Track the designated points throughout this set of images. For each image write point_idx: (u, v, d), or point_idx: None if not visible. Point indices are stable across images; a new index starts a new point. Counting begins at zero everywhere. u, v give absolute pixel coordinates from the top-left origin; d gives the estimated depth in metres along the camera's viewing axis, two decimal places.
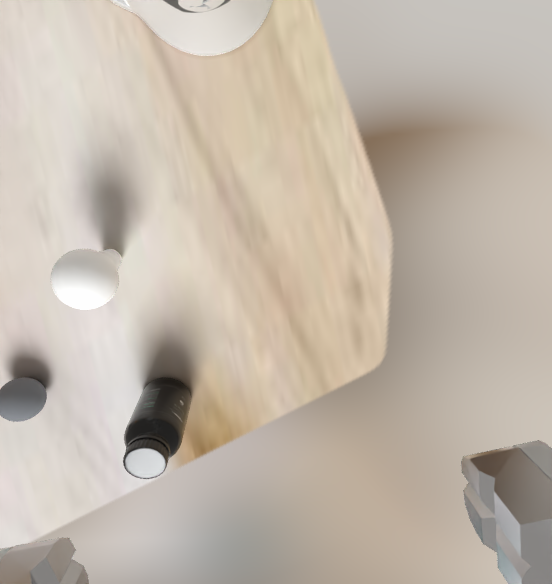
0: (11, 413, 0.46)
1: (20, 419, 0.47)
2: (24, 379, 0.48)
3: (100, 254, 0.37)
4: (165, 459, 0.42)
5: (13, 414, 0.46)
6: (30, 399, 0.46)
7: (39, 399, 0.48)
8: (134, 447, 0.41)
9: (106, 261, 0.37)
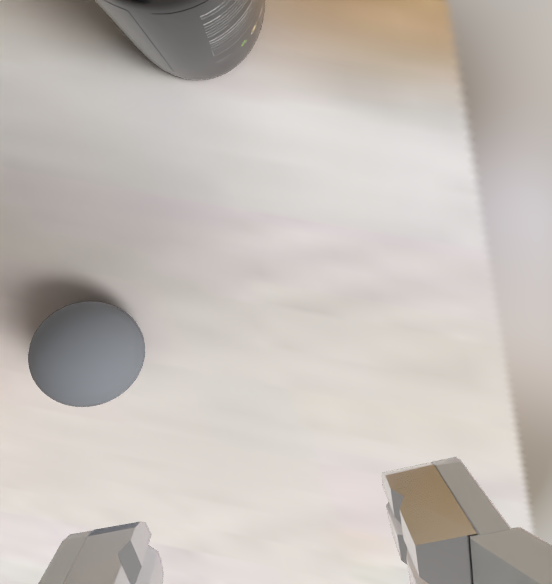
0: (66, 373, 0.17)
1: (101, 364, 0.17)
2: None
3: None
4: None
5: (70, 370, 0.17)
6: (59, 322, 0.18)
7: (82, 308, 0.18)
8: None
9: None
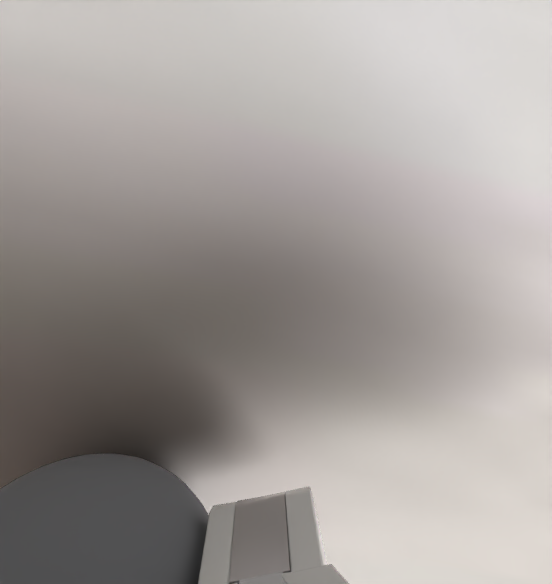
0: None
1: None
2: None
3: None
4: None
5: None
6: None
7: (31, 557, 0.05)
8: None
9: None
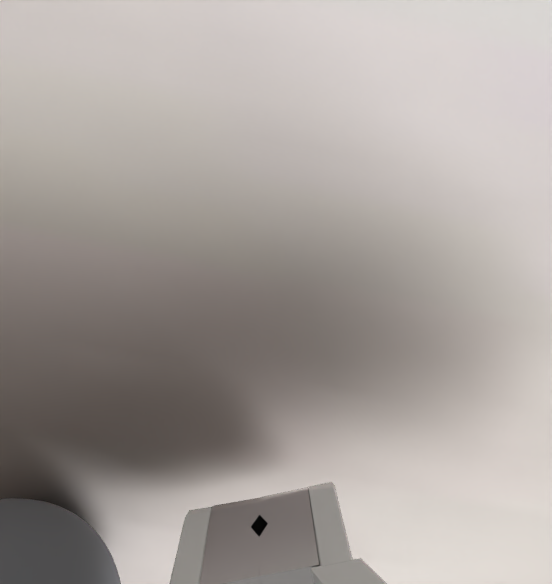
0: None
1: None
2: (35, 556, 0.07)
3: None
4: None
5: None
6: None
7: None
8: None
9: None
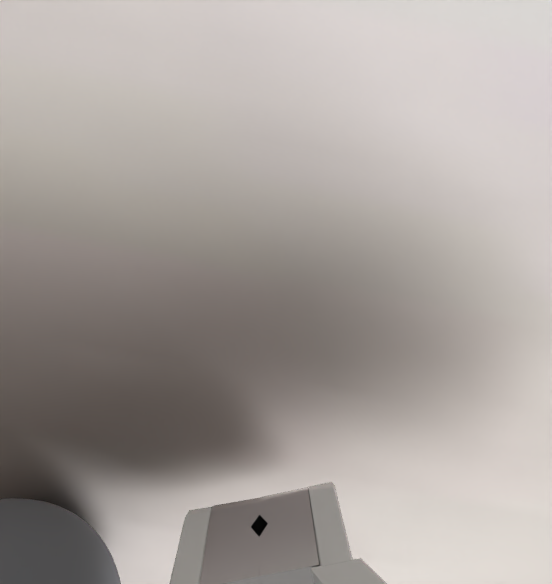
0: None
1: None
2: (35, 556, 0.07)
3: None
4: None
5: None
6: None
7: None
8: None
9: None
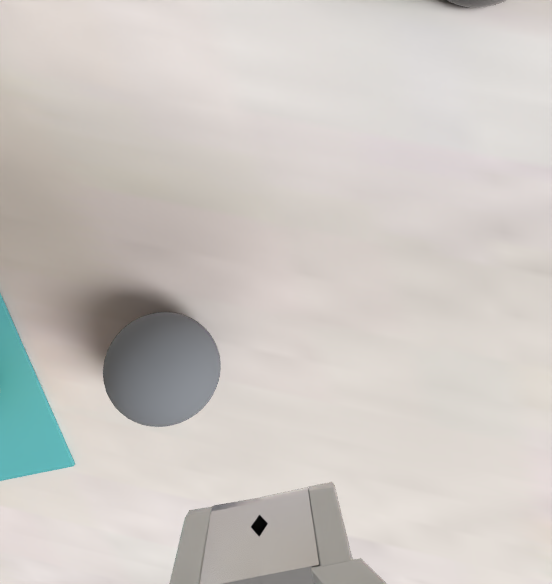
0: None
1: None
2: (193, 322, 0.18)
3: None
4: None
5: None
6: None
7: (122, 330, 0.17)
8: None
9: None
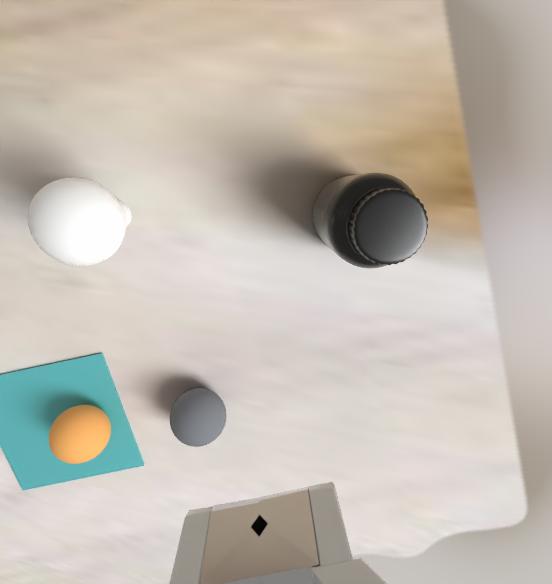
0: None
1: None
2: (213, 394, 0.37)
3: None
4: (396, 189, 0.23)
5: None
6: (184, 393, 0.37)
7: (179, 399, 0.36)
8: (353, 234, 0.23)
9: (52, 182, 0.25)
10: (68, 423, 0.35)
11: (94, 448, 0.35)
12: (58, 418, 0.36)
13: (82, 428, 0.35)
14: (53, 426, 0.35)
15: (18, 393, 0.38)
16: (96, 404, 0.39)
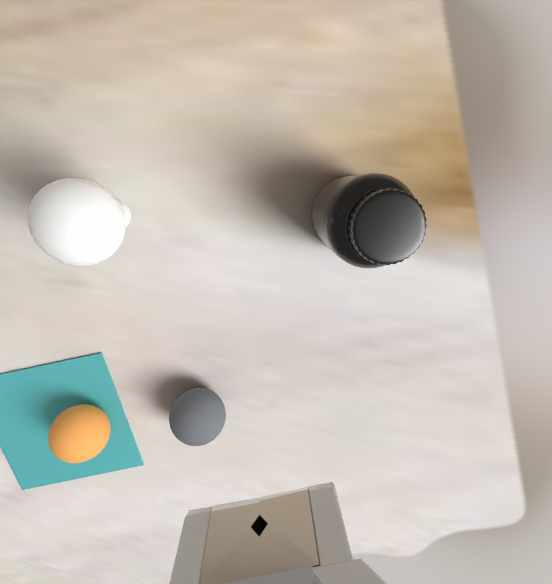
0: None
1: None
2: (212, 394, 0.37)
3: None
4: (394, 190, 0.23)
5: None
6: None
7: (178, 399, 0.36)
8: (351, 234, 0.23)
9: (52, 182, 0.25)
10: (68, 423, 0.35)
11: (93, 447, 0.35)
12: (58, 418, 0.36)
13: (81, 428, 0.35)
14: (53, 426, 0.35)
15: (18, 393, 0.38)
16: (96, 403, 0.39)
